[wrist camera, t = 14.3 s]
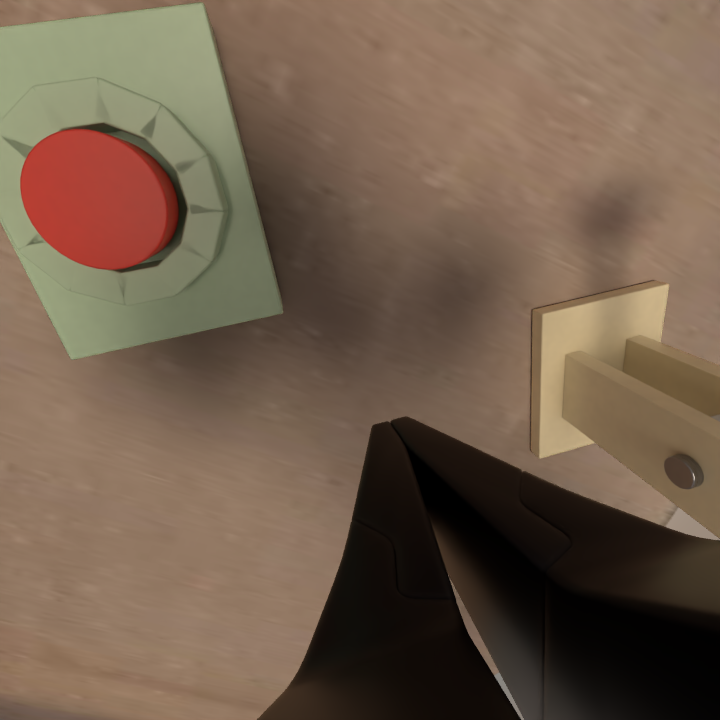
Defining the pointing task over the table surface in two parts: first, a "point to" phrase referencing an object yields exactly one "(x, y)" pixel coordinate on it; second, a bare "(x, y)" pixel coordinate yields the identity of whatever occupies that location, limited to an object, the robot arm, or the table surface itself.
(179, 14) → the button box
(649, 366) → the bracket
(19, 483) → the table surface
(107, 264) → the button
